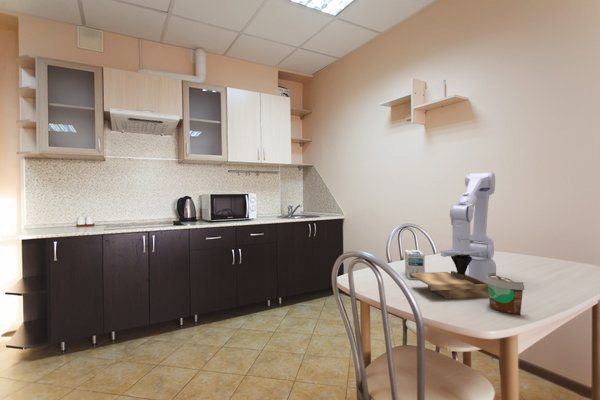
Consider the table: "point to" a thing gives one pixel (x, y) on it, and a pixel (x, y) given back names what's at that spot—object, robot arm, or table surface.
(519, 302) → the food container
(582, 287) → the table surface
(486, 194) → the robot arm
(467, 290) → the mailer box
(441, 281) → the mailer lid
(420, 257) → the light bulb box
